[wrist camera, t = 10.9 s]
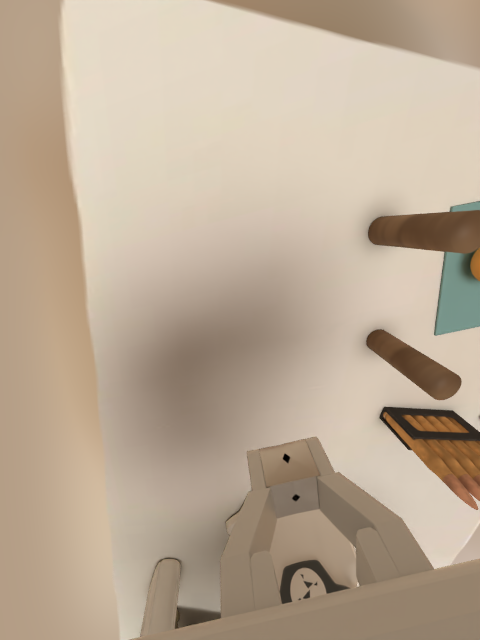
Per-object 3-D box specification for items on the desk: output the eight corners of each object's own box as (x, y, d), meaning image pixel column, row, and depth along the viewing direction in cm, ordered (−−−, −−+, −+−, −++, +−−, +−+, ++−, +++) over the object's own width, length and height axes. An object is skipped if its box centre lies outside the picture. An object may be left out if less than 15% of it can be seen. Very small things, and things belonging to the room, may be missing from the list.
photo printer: (171, 591, 43) (155, 725, 31) (147, 591, 42) (121, 727, 31) (184, 557, 40) (171, 692, 28) (157, 556, 39) (133, 694, 27)
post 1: (393, 242, 24) (487, 249, 16) (368, 247, 24) (449, 257, 16) (394, 214, 23) (495, 206, 15) (368, 219, 23) (454, 214, 15)
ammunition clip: (378, 417, 33) (463, 516, 21) (383, 406, 32) (473, 502, 21) (447, 421, 34) (560, 515, 23) (453, 410, 33) (572, 501, 22)
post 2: (387, 347, 29) (458, 396, 20) (366, 351, 29) (429, 403, 20) (388, 327, 28) (463, 370, 19) (366, 332, 28) (432, 377, 19)
